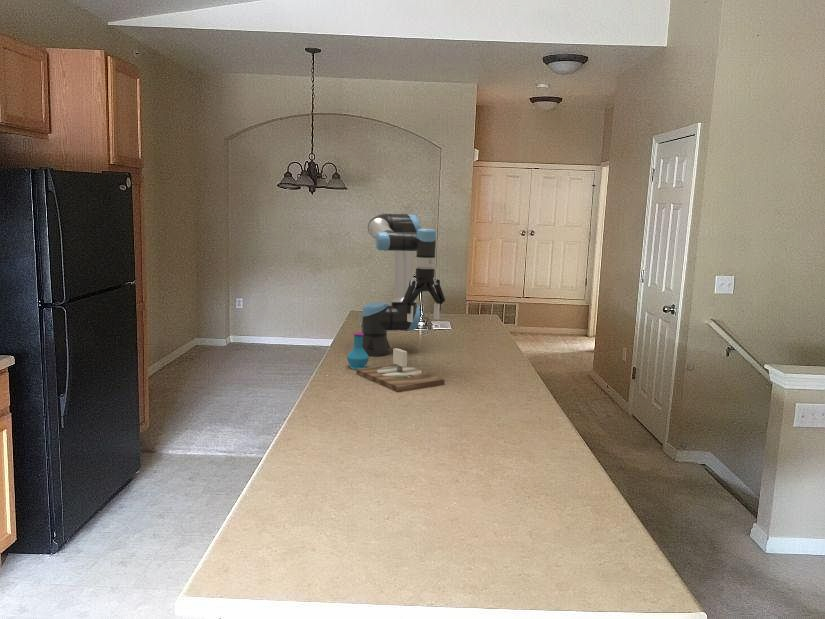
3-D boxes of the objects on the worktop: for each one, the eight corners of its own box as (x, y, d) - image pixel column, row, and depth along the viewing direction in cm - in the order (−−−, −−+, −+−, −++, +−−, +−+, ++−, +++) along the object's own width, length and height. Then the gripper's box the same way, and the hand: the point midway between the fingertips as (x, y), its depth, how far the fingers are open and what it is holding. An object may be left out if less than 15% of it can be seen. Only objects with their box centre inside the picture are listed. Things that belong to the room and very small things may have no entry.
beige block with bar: (375, 372, 263) (375, 350, 262) (397, 369, 269) (397, 348, 268) (384, 376, 257) (385, 354, 256) (406, 373, 263) (407, 351, 262)
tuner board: (356, 373, 268) (356, 368, 268) (401, 367, 281) (401, 362, 280) (397, 392, 244) (397, 385, 244) (444, 384, 257) (444, 378, 256)
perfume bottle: (370, 365, 283) (371, 331, 281) (366, 370, 274) (367, 335, 272) (349, 364, 284) (349, 330, 281) (344, 369, 275) (345, 334, 272)
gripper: (405, 269, 252) (404, 324, 255) (455, 267, 267) (452, 319, 270) (394, 267, 258) (392, 321, 261) (443, 266, 273) (441, 316, 276)
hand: (423, 320), depth 266 cm, fingers open, 13 cm apart
